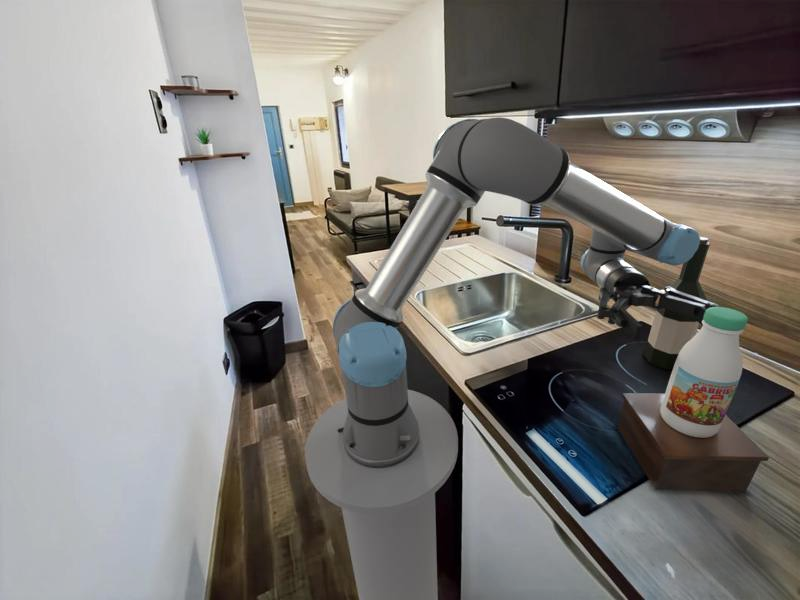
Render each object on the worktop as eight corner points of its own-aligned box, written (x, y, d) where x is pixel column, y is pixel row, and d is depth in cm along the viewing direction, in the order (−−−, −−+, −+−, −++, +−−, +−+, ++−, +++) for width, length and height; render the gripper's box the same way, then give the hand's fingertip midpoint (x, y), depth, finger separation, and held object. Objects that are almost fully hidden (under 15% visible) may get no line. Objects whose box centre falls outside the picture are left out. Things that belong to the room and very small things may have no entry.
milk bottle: (648, 407, 63) (679, 303, 54) (690, 402, 63) (727, 299, 55) (683, 442, 56) (725, 329, 47) (731, 436, 56) (781, 323, 48)
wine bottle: (635, 353, 90) (666, 235, 78) (662, 347, 92) (697, 231, 79) (665, 372, 83) (705, 246, 70) (694, 365, 85) (738, 241, 72)
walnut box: (653, 491, 57) (666, 455, 54) (613, 425, 70) (622, 393, 66) (750, 494, 56) (769, 457, 52) (691, 427, 68) (704, 393, 65)
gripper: (679, 297, 79) (756, 352, 60) (560, 299, 82) (598, 352, 63) (688, 265, 76) (774, 311, 57) (564, 268, 79) (606, 313, 59)
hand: (682, 333), depth 60 cm, fingers open, 13 cm apart
